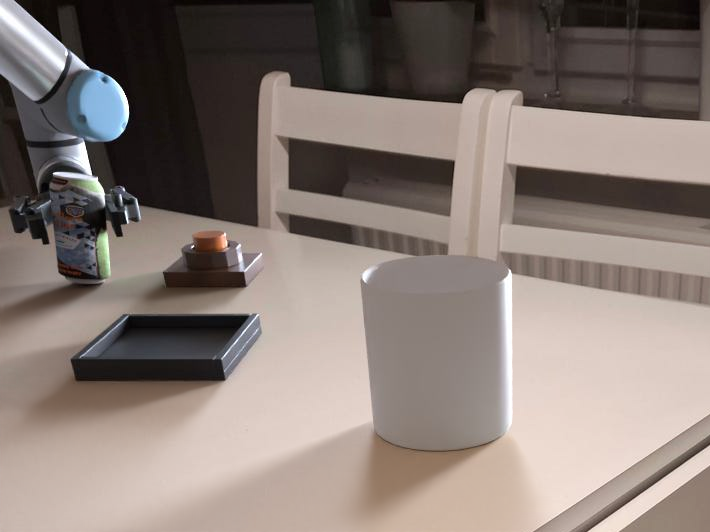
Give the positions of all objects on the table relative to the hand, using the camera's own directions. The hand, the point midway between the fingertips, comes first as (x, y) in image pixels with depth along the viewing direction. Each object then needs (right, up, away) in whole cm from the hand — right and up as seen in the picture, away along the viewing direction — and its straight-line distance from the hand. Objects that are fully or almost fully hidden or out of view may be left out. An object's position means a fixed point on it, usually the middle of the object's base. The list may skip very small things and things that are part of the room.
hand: (80, 228), depth 116 cm
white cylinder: (+43, -32, -31) cm, 62 cm away
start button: (+13, +1, +7) cm, 15 cm away
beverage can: (-2, -3, +8) cm, 9 cm away
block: (+14, -2, +8) cm, 16 cm away
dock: (+16, -20, -15) cm, 30 cm away
